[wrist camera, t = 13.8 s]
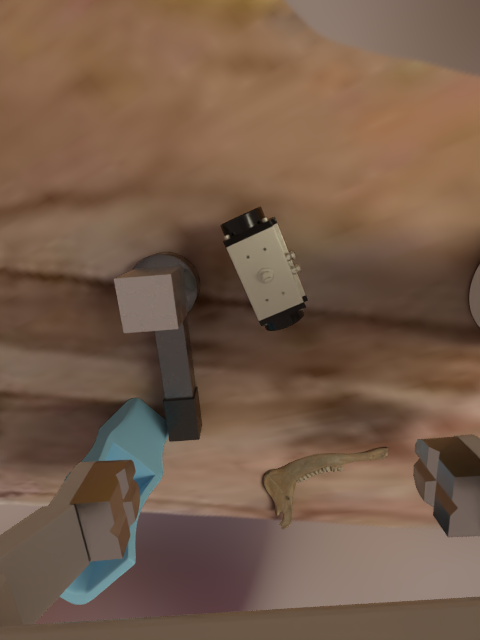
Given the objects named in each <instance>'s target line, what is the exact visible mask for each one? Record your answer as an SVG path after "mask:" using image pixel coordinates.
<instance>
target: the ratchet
mask: <svg viewBox="0 0 480 640" xmlns="http://www.w3.org/2000/svg"><path fill="white" fill-rule="evenodd" d="M174 265H183V268H184V276H185V284H186V292H187V300H188V308H189V311H190V310H191V308H192V307H193V305H194V303H195V301H196V299H197V297H198V295H199V291H200V280H199V276H198V273H197V271H196V269H195V267H194V266H193V265H192V263H191V262H190V261H189V260H187V259H186V258H185V257H183V256H181V255H179V254H176V253H172V252H161V253H157V254H154V255H152V256H149V257H147V258H144V259H143V260H141V261H140V262H139V263H137V264H136V266H135V267H134V268H133V270H134V269H136V268H149V267H161V266H174ZM189 311H188V312H189ZM155 337H156V344H157V350H158V356H159V363H160V369H161V375H162V382H163V388H164V394H165V398H164V401H163V404H164V410H165V416H166V422H167V429H168V435H169V441H184V440H199V439H200V433H201V428H202V420H201V413H200V405H199V397H198V389H197V387H196V385H195V377H194V369H193V361H192V353H191V346H190V338H189V330H188V322H187V315H186V316H185V318H184V320H183V322H182V324H181V325H180V327H179V329H173V330H160V331H155Z"/></svg>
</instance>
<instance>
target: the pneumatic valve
mask: <svg viewBox="0 0 480 640" xmlns="http://www.w3.org/2000/svg"><path fill="white" fill-rule="evenodd" d="M220 226H221V229H222V231H223V233H224V239H225V240H224V241H223V242H224V244H225V247H226V249H227V251H228V253H229V256H230V258H231V260H232V262H233V265H234V267H235V269H236V271H237V274H238V276H239V278H240V280H241V282H242V285H243V287H244V289H245V291H246V294H247V296H248V298H249V300H250V303H251V305H252V307H253V309H254V312H255V314H256V316H257V318H258V321H259V323H260V325H261V326H265V328H266V330H268V331H276V330H280V329H284V328H286V327H289V326H291V325H293V324H295V323H296V322H298V321H299V320H300V319H301V318H302V317H303V316H304V312H303V309H304V308H306V306H305V304H304V302H305V301H308V299H307V297H306V294H305V292H304V289H303V287H302V284H301V282H300V279H299V277H298V274H297V272H298V273H299V272H300V271H301V269H300V267H299V265H298V264H295V266H294V264H293V261H292V259H295V258H296V256H295V254H294V252H293V251H292V250H291V251H290V254H289V251H288V249H287V246H286V244H285V241H284V239H283V236H282V234H281V231H280V229H279V226H278V224H277V221H276V218H275V217H272V218H270V219H268V218H267V217H266V218H265V215H264V213H263V211H262V208H261V207H258V208H256V209H254V210H251V211H249V212H247V213H245V214H243V215H240V216H238V217H236V218H234V219H232V220H230V221H228V222H226V223H223V224H222V225H220ZM291 257H292V259H291Z"/></svg>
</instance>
